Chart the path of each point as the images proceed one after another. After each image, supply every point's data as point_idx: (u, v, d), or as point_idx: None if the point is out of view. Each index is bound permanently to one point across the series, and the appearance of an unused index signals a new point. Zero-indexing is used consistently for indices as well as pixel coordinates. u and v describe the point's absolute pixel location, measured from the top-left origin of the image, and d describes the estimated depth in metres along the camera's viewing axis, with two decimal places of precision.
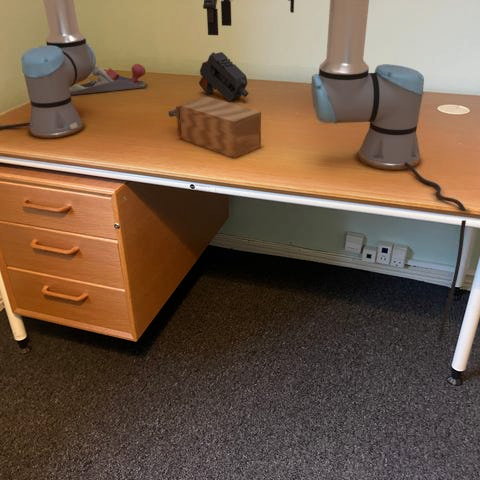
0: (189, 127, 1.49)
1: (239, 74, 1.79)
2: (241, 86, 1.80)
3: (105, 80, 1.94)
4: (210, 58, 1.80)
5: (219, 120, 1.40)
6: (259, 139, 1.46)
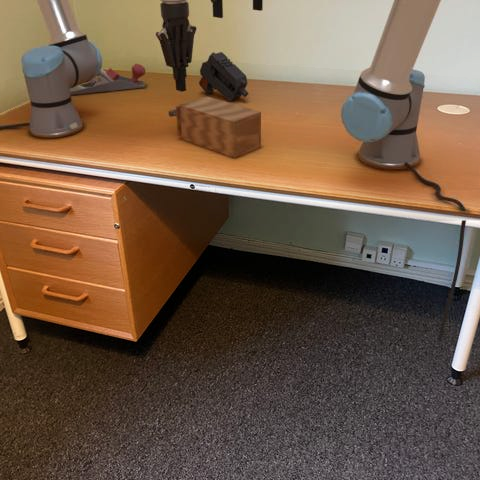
0: (189, 127, 1.49)
1: (239, 74, 1.79)
2: (241, 86, 1.80)
3: (105, 80, 1.94)
4: (210, 58, 1.80)
5: (219, 120, 1.40)
6: (259, 139, 1.46)
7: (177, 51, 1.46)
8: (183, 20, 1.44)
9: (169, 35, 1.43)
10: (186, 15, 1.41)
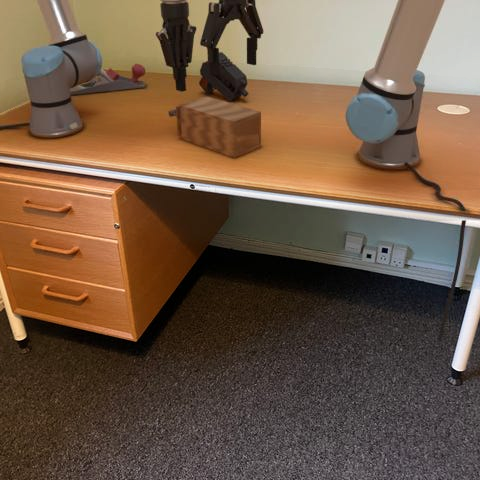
0: (189, 127, 1.49)
1: (239, 74, 1.79)
2: (241, 86, 1.80)
3: (105, 80, 1.94)
4: None
5: (219, 120, 1.40)
6: (259, 139, 1.46)
7: (177, 51, 1.46)
8: (183, 20, 1.44)
9: (169, 35, 1.43)
10: (186, 15, 1.41)
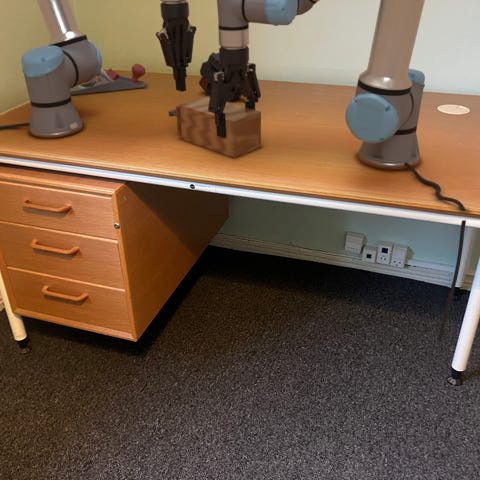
0: (189, 127, 1.49)
1: None
2: None
3: (105, 80, 1.94)
4: (210, 58, 1.80)
5: None
6: (259, 139, 1.46)
7: (177, 51, 1.46)
8: (183, 20, 1.44)
9: (169, 35, 1.43)
10: (186, 15, 1.41)
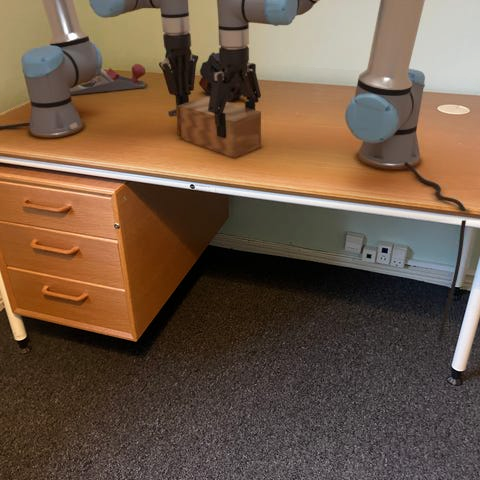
0: (189, 127, 1.49)
1: None
2: None
3: (105, 80, 1.94)
4: (210, 58, 1.80)
5: None
6: (259, 139, 1.46)
7: (180, 80, 1.50)
8: (185, 50, 1.48)
9: (172, 65, 1.47)
10: (188, 46, 1.45)
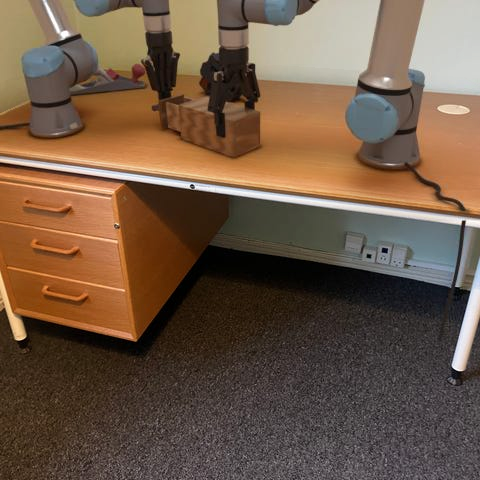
0: (188, 127, 1.49)
1: None
2: None
3: (105, 80, 1.94)
4: (210, 58, 1.80)
5: None
6: (258, 139, 1.46)
7: (162, 76, 1.55)
8: (167, 47, 1.53)
9: (154, 62, 1.52)
10: (169, 43, 1.50)
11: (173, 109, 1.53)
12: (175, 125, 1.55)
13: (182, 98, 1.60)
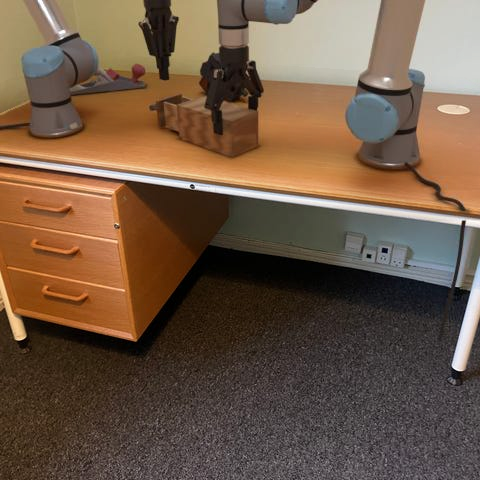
0: (187, 127, 1.50)
1: None
2: (241, 86, 1.80)
3: (105, 80, 1.94)
4: (210, 58, 1.80)
5: None
6: (256, 138, 1.47)
7: (160, 41, 1.49)
8: (165, 10, 1.47)
9: (152, 25, 1.47)
10: (168, 5, 1.44)
11: (171, 109, 1.53)
12: (173, 125, 1.56)
13: (180, 98, 1.61)
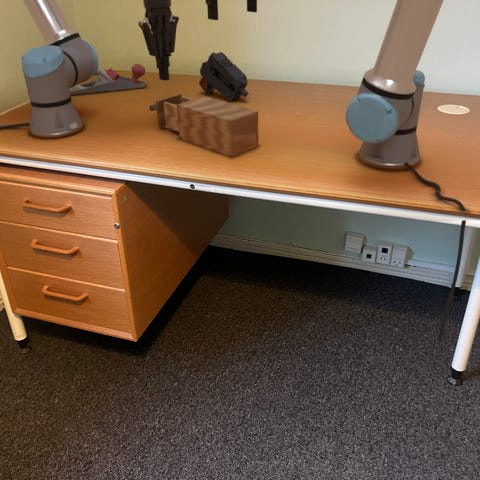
0: (187, 127, 1.50)
1: (239, 74, 1.79)
2: (241, 86, 1.80)
3: (105, 80, 1.94)
4: (210, 58, 1.80)
5: (217, 119, 1.40)
6: (256, 138, 1.47)
7: (160, 41, 1.49)
8: (165, 10, 1.47)
9: (152, 25, 1.47)
10: (168, 5, 1.44)
11: (171, 109, 1.53)
12: (173, 125, 1.56)
13: (180, 98, 1.61)
